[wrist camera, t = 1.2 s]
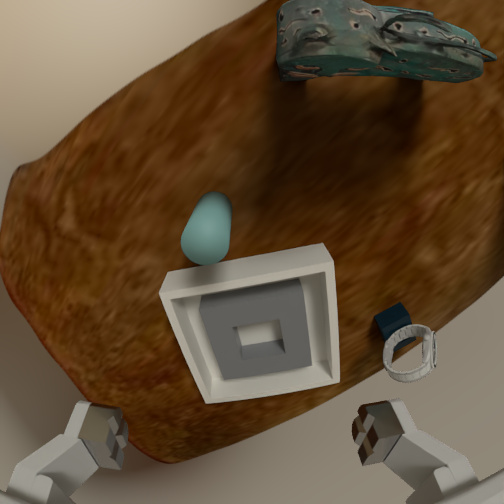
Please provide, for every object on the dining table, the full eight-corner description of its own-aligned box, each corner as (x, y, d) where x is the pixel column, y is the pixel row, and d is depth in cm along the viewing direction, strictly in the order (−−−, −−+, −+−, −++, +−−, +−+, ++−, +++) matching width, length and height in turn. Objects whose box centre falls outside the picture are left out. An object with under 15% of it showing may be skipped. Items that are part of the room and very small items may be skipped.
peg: (228, 188, 34) (223, 215, 25) (235, 222, 36) (233, 260, 27) (192, 195, 35) (175, 225, 26) (201, 229, 36) (188, 268, 27)
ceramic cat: (264, 92, 30) (295, 58, 12) (257, 36, 28) (276, -54, 9) (429, 92, 30) (559, 98, 12) (423, 43, 27) (546, 17, 9)
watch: (418, 321, 43) (451, 368, 33) (373, 345, 44) (398, 398, 34) (411, 294, 41) (448, 342, 31) (362, 321, 42) (390, 375, 32)
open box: (322, 242, 37) (333, 261, 33) (332, 358, 45) (339, 382, 40) (167, 272, 38) (158, 293, 34) (208, 379, 46) (205, 403, 41)
